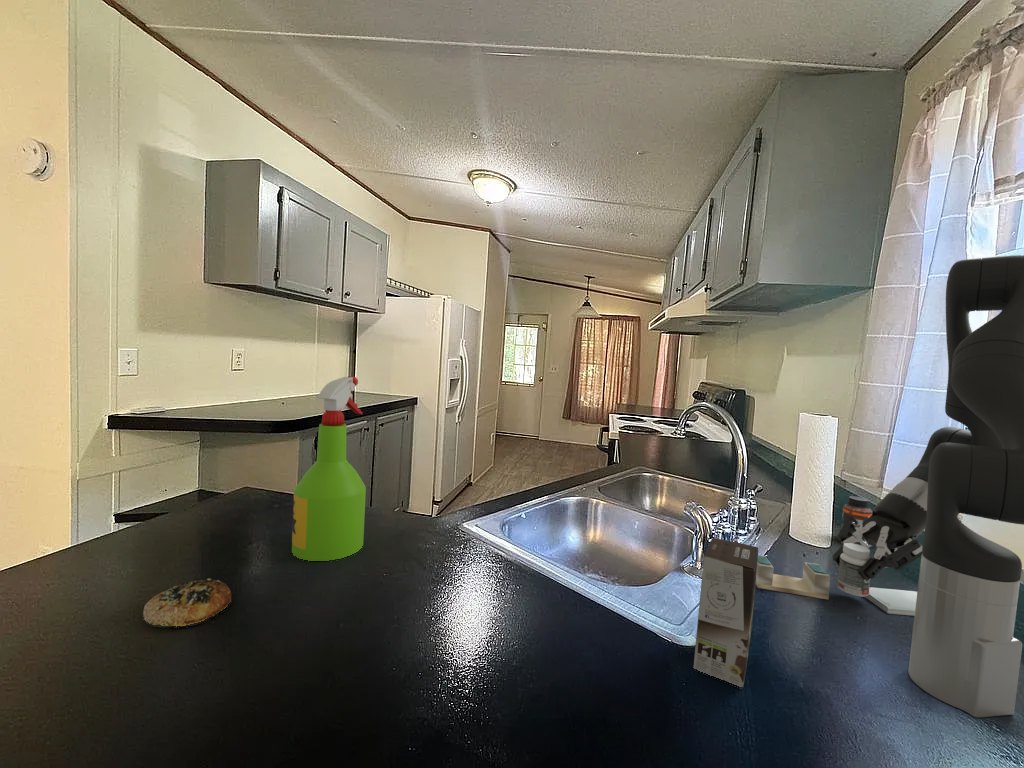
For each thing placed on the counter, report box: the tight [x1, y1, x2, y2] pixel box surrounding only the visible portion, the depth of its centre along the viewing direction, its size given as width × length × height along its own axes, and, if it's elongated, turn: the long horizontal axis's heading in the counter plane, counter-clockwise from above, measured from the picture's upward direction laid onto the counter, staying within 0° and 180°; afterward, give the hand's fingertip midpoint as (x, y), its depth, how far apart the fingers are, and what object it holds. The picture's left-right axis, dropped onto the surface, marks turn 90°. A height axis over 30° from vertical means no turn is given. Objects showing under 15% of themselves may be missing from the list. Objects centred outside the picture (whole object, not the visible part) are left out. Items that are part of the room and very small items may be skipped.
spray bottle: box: [291, 375, 367, 562], centre depth 94 cm, size 14×18×35 cm
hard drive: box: [864, 587, 917, 617], centre depth 84 cm, size 2×8×12 cm
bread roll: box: [142, 577, 232, 628], centre depth 68 cm, size 11×11×5 cm
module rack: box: [755, 554, 831, 601], centre depth 88 cm, size 12×6×4 cm, turn 76°
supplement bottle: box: [840, 495, 873, 544], centre depth 115 cm, size 6×6×11 cm
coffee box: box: [692, 537, 759, 688], centre depth 63 cm, size 9×6×16 cm
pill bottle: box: [837, 543, 871, 598], centre depth 84 cm, size 5×5×8 cm
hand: (849, 569), depth 84 cm, fingers closed on pill bottle, 4 cm apart
